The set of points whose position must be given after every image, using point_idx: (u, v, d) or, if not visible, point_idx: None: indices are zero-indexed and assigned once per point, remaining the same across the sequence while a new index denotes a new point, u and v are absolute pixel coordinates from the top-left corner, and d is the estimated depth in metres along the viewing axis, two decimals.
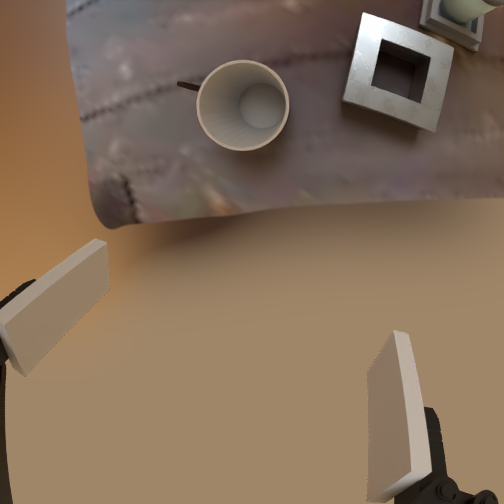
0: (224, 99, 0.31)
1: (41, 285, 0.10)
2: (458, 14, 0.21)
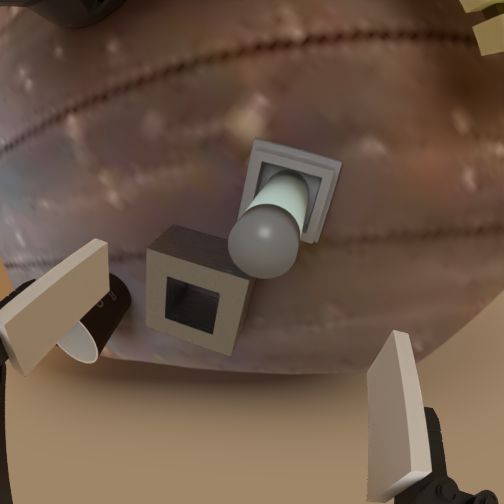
0: None
1: (41, 285, 0.10)
2: None
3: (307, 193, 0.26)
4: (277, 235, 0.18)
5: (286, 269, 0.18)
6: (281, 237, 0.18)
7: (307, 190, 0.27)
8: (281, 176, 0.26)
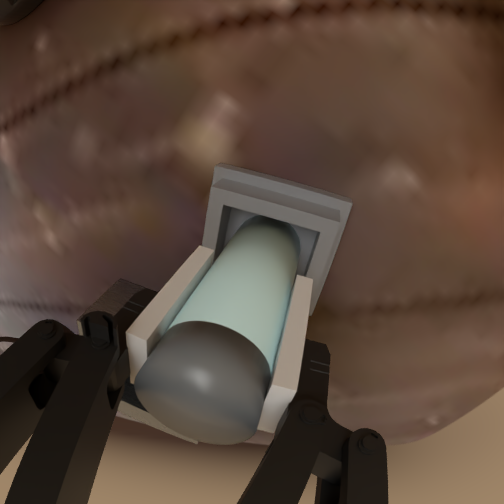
0: None
1: (169, 295, 0.11)
2: None
3: (296, 256, 0.17)
4: (217, 399, 0.08)
5: (240, 440, 0.09)
6: (225, 403, 0.08)
7: (296, 249, 0.17)
8: (253, 230, 0.16)
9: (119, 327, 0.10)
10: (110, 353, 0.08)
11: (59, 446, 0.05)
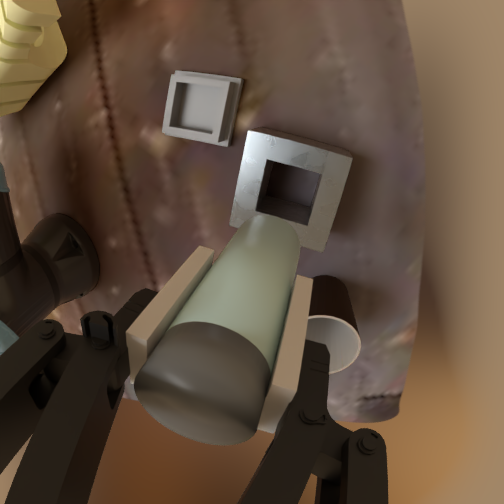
0: (313, 336, 0.39)
1: (169, 295, 0.11)
2: None
3: (296, 256, 0.17)
4: (217, 400, 0.08)
5: (240, 440, 0.09)
6: (225, 404, 0.08)
7: (296, 250, 0.17)
8: (253, 231, 0.16)
9: (119, 327, 0.10)
10: (110, 353, 0.08)
11: (59, 446, 0.05)
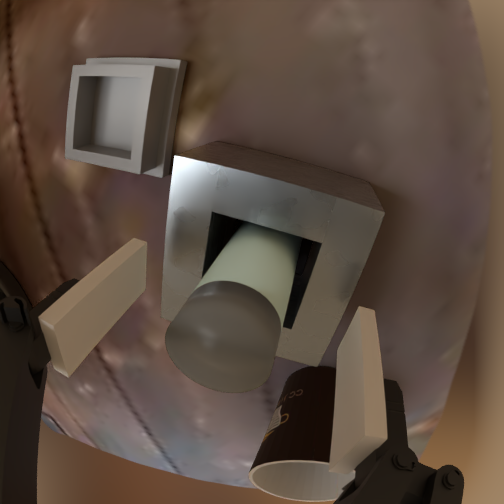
0: None
1: (87, 284, 0.10)
2: None
3: (299, 237, 0.19)
4: (239, 343, 0.10)
5: (256, 385, 0.11)
6: (245, 346, 0.10)
7: None
8: None
9: (40, 314, 0.09)
10: (26, 333, 0.08)
11: None
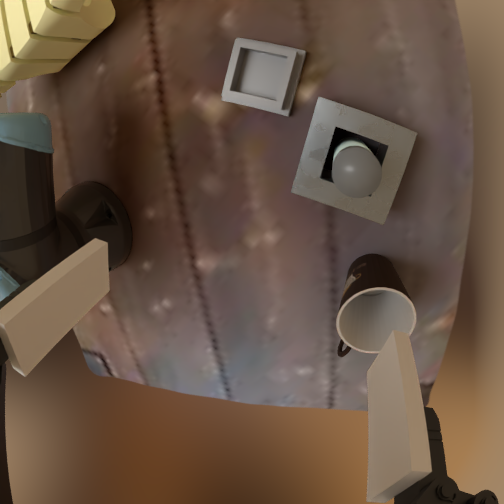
0: (362, 316, 0.37)
1: (41, 285, 0.10)
2: None
3: None
4: (369, 164, 0.23)
5: (372, 191, 0.23)
6: (371, 166, 0.23)
7: None
8: (351, 138, 0.31)
9: None
10: None
11: None
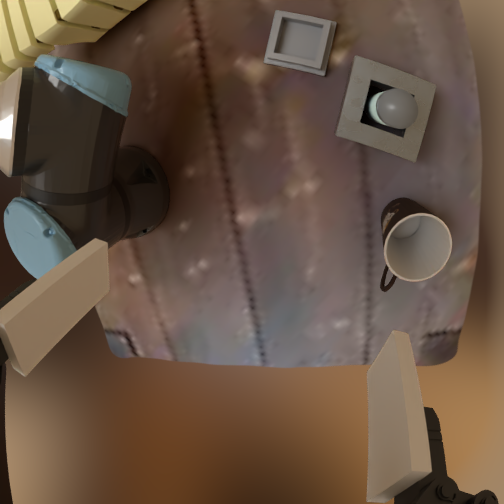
0: (399, 253, 0.39)
1: (41, 285, 0.10)
2: (375, 121, 0.34)
3: None
4: (407, 101, 0.25)
5: (412, 122, 0.26)
6: (409, 102, 0.25)
7: None
8: None
9: None
10: None
11: None
